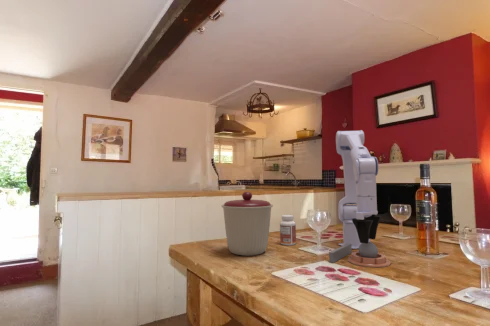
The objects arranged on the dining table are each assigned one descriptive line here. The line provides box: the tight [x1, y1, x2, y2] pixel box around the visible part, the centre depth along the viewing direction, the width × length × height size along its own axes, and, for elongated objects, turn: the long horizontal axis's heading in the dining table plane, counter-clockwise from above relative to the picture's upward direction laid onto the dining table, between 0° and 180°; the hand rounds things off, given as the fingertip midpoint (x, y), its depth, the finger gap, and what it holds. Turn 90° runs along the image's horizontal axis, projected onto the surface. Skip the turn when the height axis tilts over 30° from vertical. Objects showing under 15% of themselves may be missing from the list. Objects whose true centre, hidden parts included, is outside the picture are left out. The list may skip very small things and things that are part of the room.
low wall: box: [328, 243, 353, 264], centre depth 94 cm, size 16×1×3 cm, turn 141°
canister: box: [221, 191, 274, 257], centre depth 102 cm, size 18×18×21 cm
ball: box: [358, 241, 379, 258], centre depth 89 cm, size 6×6×6 cm
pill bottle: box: [279, 214, 297, 246], centre depth 115 cm, size 6×6×11 cm
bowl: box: [347, 250, 391, 268], centre depth 89 cm, size 12×12×2 cm
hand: (367, 240), depth 89 cm, fingers open, 7 cm apart
